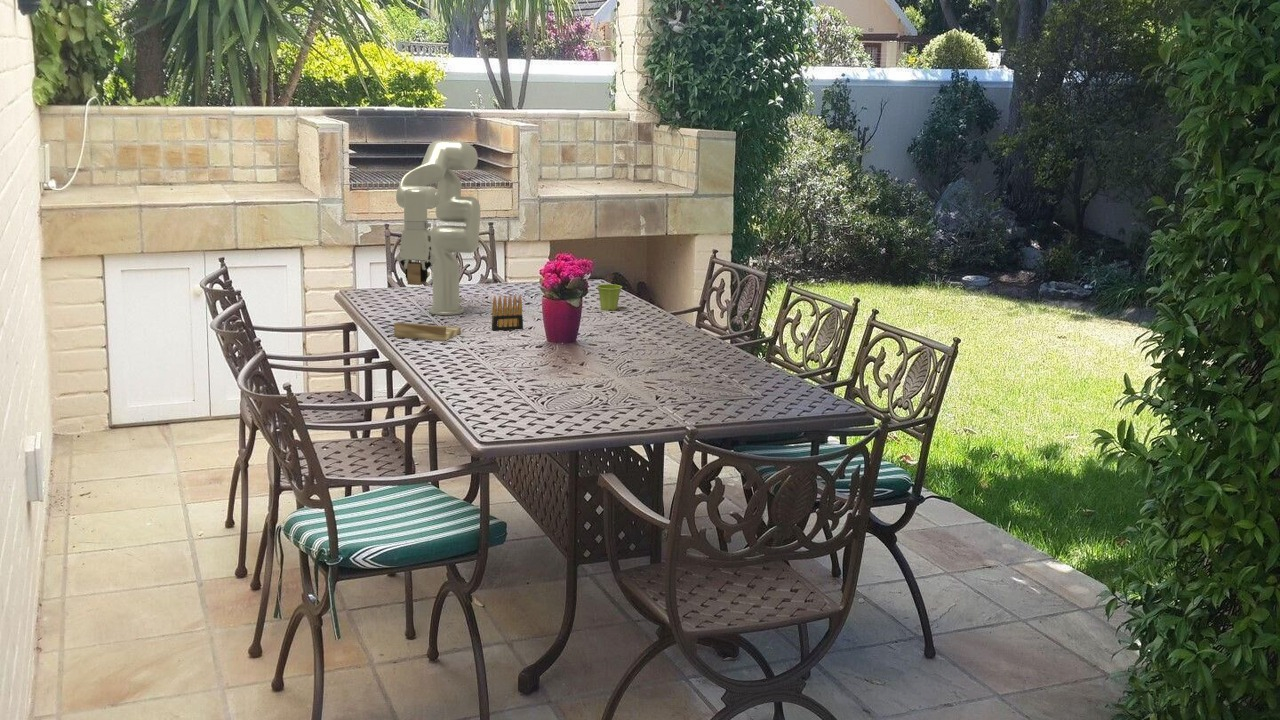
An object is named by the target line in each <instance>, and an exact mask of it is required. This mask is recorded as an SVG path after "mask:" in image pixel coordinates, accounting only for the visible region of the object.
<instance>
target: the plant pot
mask: <svg viewBox="0 0 1280 720" xmlns="http://www.w3.org/2000/svg"><path fill="white" fill-rule="evenodd" d="M596 288H597V291H598V293H599V295H598V296H599V305H600V309H601V310H603V311H615V310H618V307H619V300H620V293H621V291H622V289H623V286H622V285H618V284H613V283H611V284H608V283H607V284H605V283H604V284H603V283H602V284H598V285H597V286H596Z"/></svg>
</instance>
